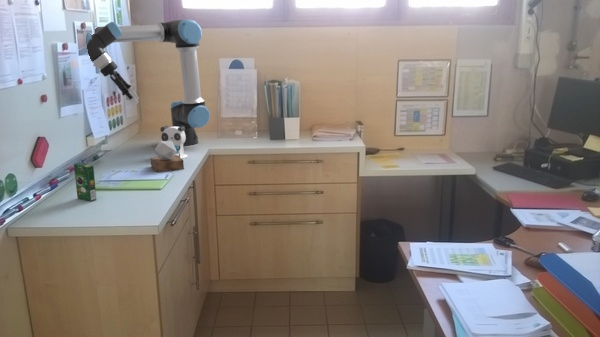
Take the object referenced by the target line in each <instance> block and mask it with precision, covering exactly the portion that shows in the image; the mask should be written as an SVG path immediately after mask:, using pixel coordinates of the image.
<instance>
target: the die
mask: <svg viewBox="0 0 600 337" xmlns="http://www.w3.org/2000/svg"><path fill="white" fill-rule="evenodd" d="M154 152H155V154H156V155H157V156H156V157H158V158H159V160H172V159H173V157H174V155H175V154H176V152H177V150H176V148H175V146H174V144H173V142H172V141H162V140H161V141H159V143H157V145H156V147H155V148H154Z"/></svg>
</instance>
